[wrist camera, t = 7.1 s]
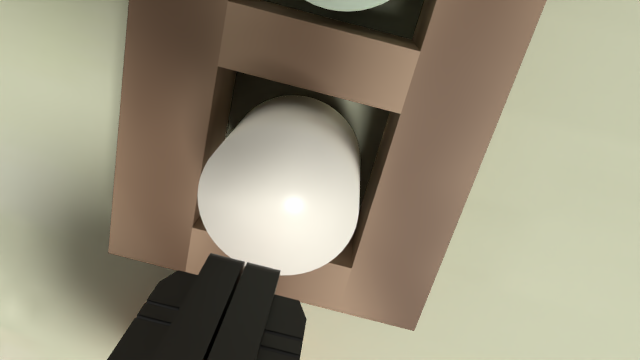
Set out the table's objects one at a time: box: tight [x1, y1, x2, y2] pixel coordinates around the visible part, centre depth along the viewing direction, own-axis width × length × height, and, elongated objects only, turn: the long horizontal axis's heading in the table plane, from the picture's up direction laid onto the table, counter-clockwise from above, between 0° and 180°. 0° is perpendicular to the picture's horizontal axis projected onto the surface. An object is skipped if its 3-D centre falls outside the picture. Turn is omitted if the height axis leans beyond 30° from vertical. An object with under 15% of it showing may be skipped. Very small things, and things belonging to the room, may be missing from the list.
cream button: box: [198, 95, 361, 275], centre depth 16 cm, size 5×5×4 cm
